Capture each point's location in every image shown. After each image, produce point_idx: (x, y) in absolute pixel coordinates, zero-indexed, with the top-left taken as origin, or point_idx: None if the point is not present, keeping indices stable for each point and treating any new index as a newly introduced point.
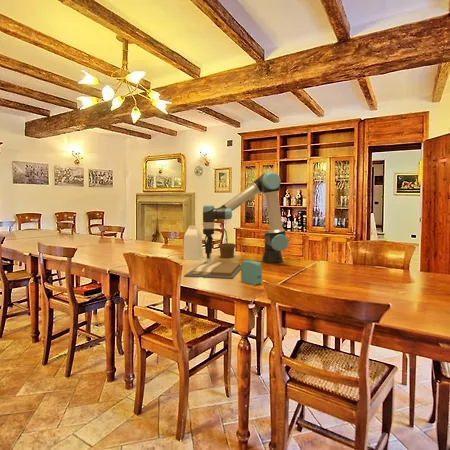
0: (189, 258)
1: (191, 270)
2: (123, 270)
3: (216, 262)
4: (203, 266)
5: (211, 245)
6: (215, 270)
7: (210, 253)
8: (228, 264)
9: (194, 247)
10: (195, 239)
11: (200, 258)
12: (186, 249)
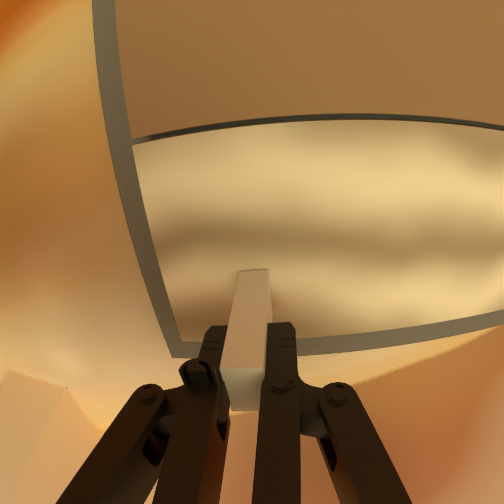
0: (85, 425)
1: (447, 336)
2: None
3: (177, 216)
4: (448, 279)
5: (111, 487)
6: None
7: (246, 369)
8: (246, 8)
9: (44, 460)
10: (21, 497)
11: (35, 381)
12: (76, 472)
